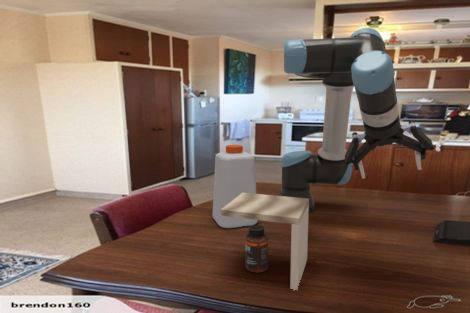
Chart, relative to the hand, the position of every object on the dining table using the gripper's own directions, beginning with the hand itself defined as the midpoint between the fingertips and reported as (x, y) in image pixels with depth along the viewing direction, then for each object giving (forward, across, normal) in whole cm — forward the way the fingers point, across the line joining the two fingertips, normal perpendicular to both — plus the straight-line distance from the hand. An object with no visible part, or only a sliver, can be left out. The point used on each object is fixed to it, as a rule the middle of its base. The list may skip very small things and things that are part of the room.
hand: (390, 170), depth 87 cm
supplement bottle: (-1, -36, -25) cm, 44 cm away
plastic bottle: (+17, -54, 0) cm, 57 cm away
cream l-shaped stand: (0, -34, -25) cm, 42 cm away
